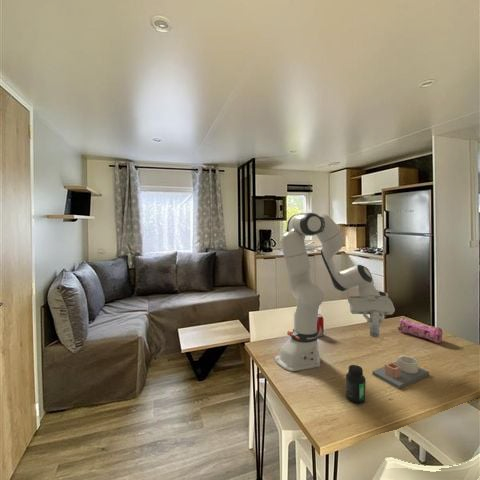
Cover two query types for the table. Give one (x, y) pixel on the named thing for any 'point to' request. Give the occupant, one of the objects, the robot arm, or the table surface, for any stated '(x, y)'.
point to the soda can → (320, 325)
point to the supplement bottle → (355, 385)
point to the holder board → (401, 372)
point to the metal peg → (374, 323)
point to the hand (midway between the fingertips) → (375, 322)
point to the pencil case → (421, 330)
